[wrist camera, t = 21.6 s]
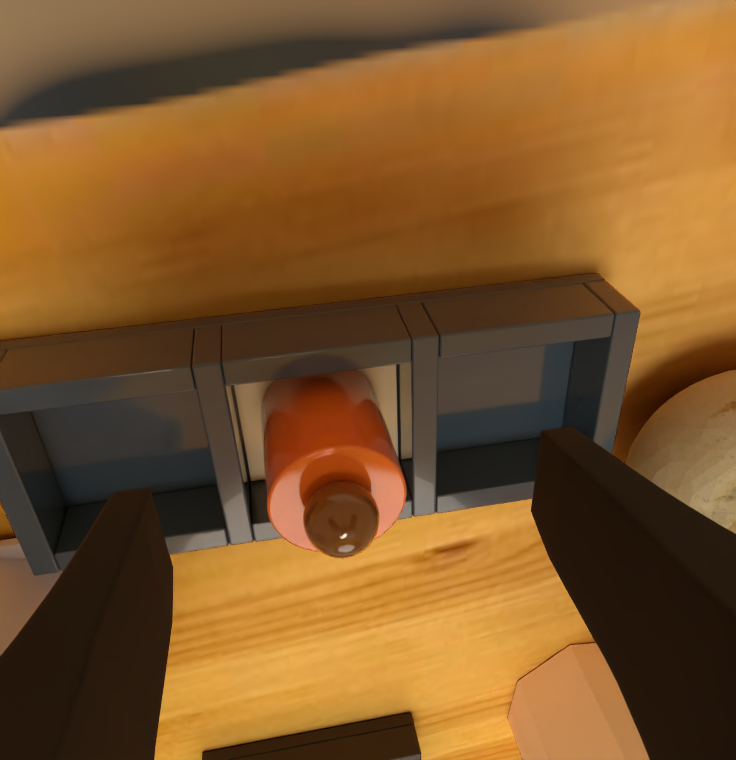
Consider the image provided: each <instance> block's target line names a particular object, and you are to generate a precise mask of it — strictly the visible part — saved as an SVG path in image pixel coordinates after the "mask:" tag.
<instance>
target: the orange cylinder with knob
mask: <svg viewBox="0 0 736 760" xmlns="http://www.w3.org/2000/svg"><path fill="white" fill-rule="evenodd" d="M260 418H261V432H262V446H263V460H264V475H265V489H266V503H267V512H268V516H269V519H270V522H271V524H272V525H273V527H274V528H275V530H276V531H277V532H278V533H279V534H280V535H281V536H282V537H283V538H284V539H285V540H287V541H288V542H290V543H292V544H294V545H296V546H298V547H300V548H303V549H307V550H311V551H317V552H321V553H323V554H325V555H327V556H330V557H334V558H348V557H352V556H355V555H357V554H359V553H361V552H362V551H364V550H365V549H366V548H367V547H368V546H369V545H370V544H371V543H372V541H373V540H375V539H376V538H378V537H379V536H381V535H382V534H384V533H385V532H386V531H387V530H388V529H389V528H390V527H391V526H392V525H393V524H394V523H395V522H396V520H397V519H398V517H399V516H400V514H401V512H402V510H403V507H404V504H405V501H406V494H407V488H406V482H405V478H404V475H403V472H402V469H401V466H400V463H399V460H398V457H397V454H396V451H395V448H394V445H393V442H392V439H391V436H390V433H389V430H388V427H387V424H386V421H385V418H384V415H383V412H382V409H381V406H380V403H379V400H378V397H377V394H376V391H375V389H374V387H373V385H372V383H371V382H370V381H369V379H368V378H367V377H366V376H365V375H364V374H363V373H361V372H360V371H358V370H350V371H342V372H335V373H327V374H319V375H311V376H303V377H295V378H288V379H280V380H275V381H274V382H273V383H272V384H271V385H270V387H269V388H268V390H267V391H266V393H265V395H264V397H263V400H262V403H261V409H260Z"/></svg>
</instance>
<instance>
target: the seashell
mask: <svg viewBox="0 0 736 760" xmlns="http://www.w3.org/2000/svg"><path fill="white" fill-rule="evenodd" d="M625 464H626V465H628V466H629V467H631V468H632V469H634V470H635V471H636V472H638V473H639V474H641V475H642V476H644V477H645V478H647V479H648V480H650V481H651V482H653V483H654V484H656V485H657V486H658V487H660V488H662V489H663V490H665V491H666V492H668V493H669V494H671V495H672V496H674V497H675V498H677V499H678V500H680V501H682V502H683V503H685V504H686V505H688V506H690V507H691V508H693V509H695V510H696V511H698V512H700V513H701V514H703V515H704V516H706V517H708V518H709V519H711V520H713V521H714V522H716V523H718V524H719V525H721V526H723V527H725V528H726V529H728V530H730V531H732V532H734V533H735V534H736V370H730V371H726V372H723V373H720V374H717V375H714V376H711V377H708V378H706V379H703V380H701V381H699V382H697V383H695V384H693V385H690V386H689V387H687V388H686V389H684V390H682V391H681V392H679V393H678V394H676V395H675V396H673V397H671V398H670V399H669V400H667V401H666V402H665V403H664V404H663V405H662V406H661V407H660V408H659V409H657V410H656V411H655V413H654V414H653V415H652V416H651V417H650V418H649V419H648V421H647V422H646V423H645V424H644V426H643V427H642V429H641V430H640V432H639V433H638V435H637V437H636V438H635V440H634V441H633V443H632V445H631V448H630V450H629V452H628V456H627V459H626V462H625Z"/></svg>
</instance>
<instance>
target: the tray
mask: <svg viewBox="0 0 736 760" xmlns="http://www.w3.org/2000/svg"><path fill="white" fill-rule="evenodd" d="M202 760H421V751H420V747H419V742H418V738H417V734H416V730H415V726H414V722H413V717H412V714H411V713H406V714H401V715H396V716H391V717H386V718H380V719H375V720H370V721H365V722H360V723H354V724H349V725H344V726H339V727H334V728H328V729H323V730H318V731H313V732H308V733H302V734H297V735H292V736H287V737H282V738H276V739H271V740H266V741H261V742H256V743H250V744H245V745H240V746H235V747H230V748H224V749H219V750H214V751H209V752H204V753H203V754H202Z"/></svg>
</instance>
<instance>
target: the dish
mask: <svg viewBox="0 0 736 760" xmlns="http://www.w3.org/2000/svg"><path fill="white" fill-rule="evenodd" d="M639 318H640V310H639V309H638V308H637V307H636V306H635V305H633V304H632V303H631V302H630V301H629V300H628V299H627V298H626V297H624V296H623V295H622V294H621V293H620V292H619V291H618V290H616V289H615V288H614V287H613V286H612V285H611V284H610V283H608V282H607V281H605V279H604V278H603V277H602V276H601V275H600V274H599V273H591V274H582V275H574V276H565V277H556V278H547V279H539V280H530V281H521V282H513V283H504V284H495V285H486V286H478V287H469V288H460V289H452V290H443V291H434V292H425V293H417V294H408V295H399V296H390V297H382V298H373V299H364V300H356V301H347V302H338V303H329V304H321V305H312V306H303V307H295V308H286V309H277V310H268V311H260V312H251V313H242V314H234V315H225V316H216V317H207V318H199V319H190V320H181V321H172V322H164V323H155V324H146V325H138V326H129V327H120V328H111V329H103V330H94V331H85V332H77V333H68V334H59V335H50V336H42V337H33V338H24V339H15V340H7V341H0V502H1V505H2V507H3V509H4V511H5V513H6V516H7V518H8V520H9V522H10V524H11V527H12V529H13V531H14V533H15V535H16V537H17V540H18V542H19V544H20V546H21V548H22V551H23V553H24V555H25V557H26V559H27V562H28V564H29V566H30V568H31V570H32V573H33V575H34V576H39V575H45V574H52V573H58V572H60V570H61V571H64V569H65V568H66V566H67V565H68V563H69V562H70V560H71V559H72V557H73V556H74V554H75V553H76V551H77V550H78V548H79V546H80V545H81V543H82V542H83V540H84V539H85V537H86V535H87V534H88V532H89V531H90V529H91V527H92V526H93V524H94V522H95V521H96V519H97V517H98V516H99V514H100V512H101V511H102V509H103V507H104V506H105V504H106V503H107V501H108V499H109V498H110V497H111V495H112V494H113V493H114V492H119V491H126V490H133V489H140V488H146V487H150V489H151V493H152V496H153V500H154V503H155V507H156V510H157V514H158V517H159V520H160V524H161V527H162V531H163V534H164V538H165V541H166V545H167V548H168V552H169V555H172V554H178V553H184V552H191V551H197V550H204V549H210V548H216V547H223V546H227V545H228V544H229V543H230V545H236V544H242V543H249V542H253V541H254V540H255V541H256V542H257V541H264V540H270V539H277V538H283V537H282V536H281V535H280V534H279V533H278V532H277V531H276V530H275V528H274V527H273V525H272V524H271V522H270V519H269V516H268V512H267V503H266V489H265V475H264V460H263V446H262V432H261V418H260V409H261V403H262V400H263V397H264V395H265V393H266V391H267V390H268V388H269V387H270V385H271V384H272V383H273V382H274V381H275V380H280V379H288V378H295V377H303V376H311V375H319V374H327V373H335V372H342V371H350V370H358V371H360V372H361V373H363V374H364V375H365V376H366V377H367V378H368V379H369V381H370V382H371V383H372V385H373V387H374V389H375V391H376V394H377V397H378V400H379V403H380V406H381V409H382V412H383V415H384V418H385V421H386V424H387V427H388V430H389V433H390V436H391V439H392V442H393V445H394V448H395V451H396V454H397V457H398V460H399V463H400V466H401V469H402V472H403V475H404V478H405V482H406V488H407V494H406V501H405V504H404V507H403V510H402V512H401V514H400V516H399V517H398V519H405V518H411V517H412V515H413V516H415V517H416V516H422V515H429V514H434V513H435V512H436V513H443V512H450V511H456V510H463V509H469V508H475V507H482V506H488V505H495V504H501V503H507V502H514V501H520V500H527V499H533V491H534V483H535V475H536V467H537V459H538V450H539V442H540V434H541V431H544V430H551V429H558V428H564V427H571V426H572V427H573V428H575V429H576V430H578V431H579V432H581V433H582V434H584V435H585V436H587V437H588V438H590V439H591V440H592V441H594V442H595V443H597V444H598V445H600V446H601V447H602V448H604V449H605V450H607V451H608V452H609V453H611V454H612V452H613V447H614V442H615V437H616V432H617V427H618V422H619V417H620V412H621V407H622V402H623V397H624V392H625V387H626V382H627V377H628V373H629V368H630V363H631V358H632V353H633V348H634V343H635V338H636V333H637V328H638V323H639ZM398 519H397V520H398Z"/></svg>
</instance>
